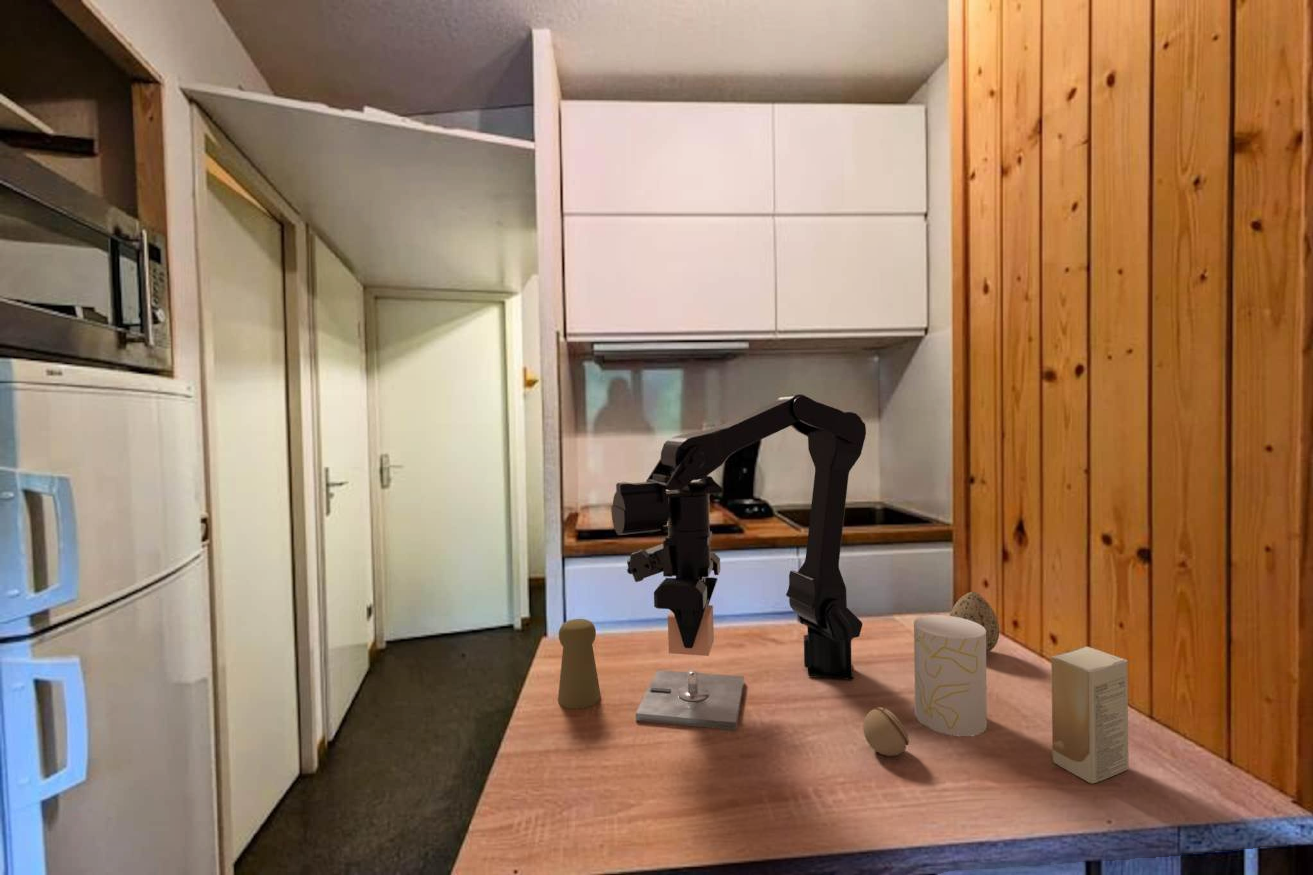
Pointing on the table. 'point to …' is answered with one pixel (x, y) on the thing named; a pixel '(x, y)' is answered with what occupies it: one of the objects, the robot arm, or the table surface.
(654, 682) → the grey square base plate
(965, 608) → the decorative egg
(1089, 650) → the skincare box
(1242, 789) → the table surface
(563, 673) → the cork
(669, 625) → the hollow block with latch
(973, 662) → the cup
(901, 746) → the beige rounded piece
